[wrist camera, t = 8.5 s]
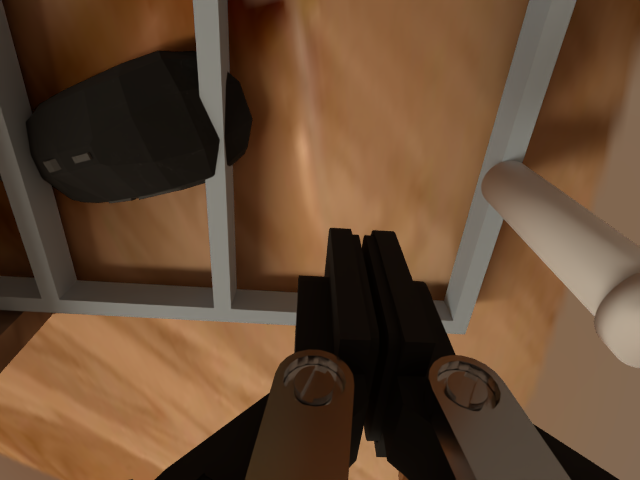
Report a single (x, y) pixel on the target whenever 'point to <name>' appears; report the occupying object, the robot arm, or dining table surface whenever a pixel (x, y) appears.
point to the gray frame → (280, 307)
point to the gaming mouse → (135, 131)
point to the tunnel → (17, 332)
